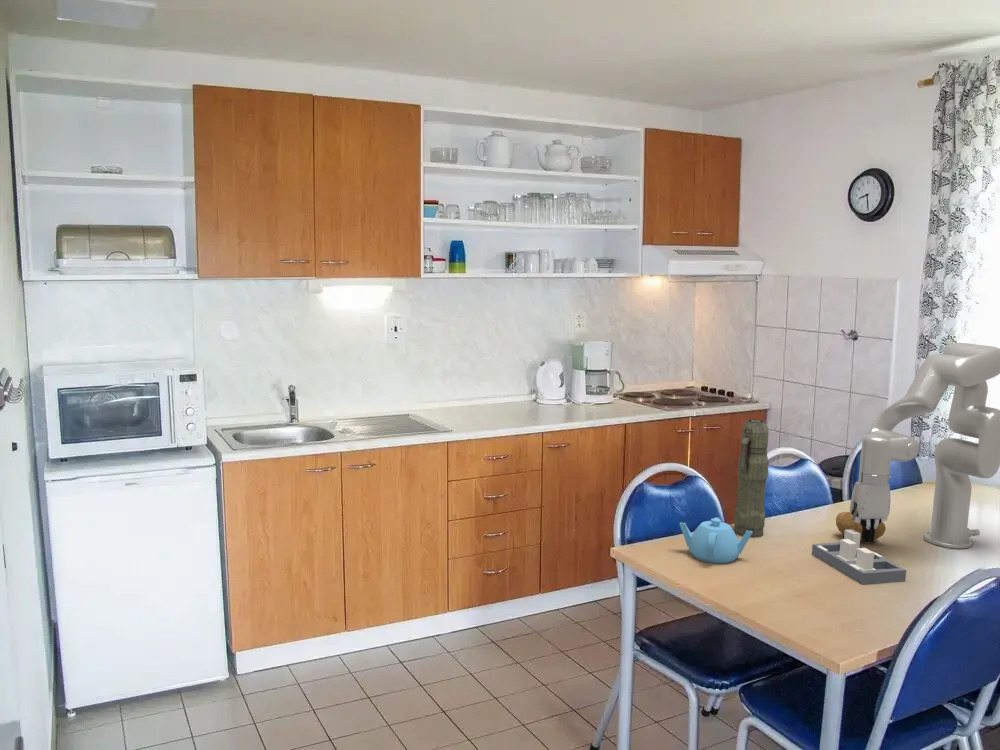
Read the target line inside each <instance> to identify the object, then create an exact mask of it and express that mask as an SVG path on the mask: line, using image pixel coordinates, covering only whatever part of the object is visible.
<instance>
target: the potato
mask: <svg viewBox="0 0 1000 750" xmlns="http://www.w3.org/2000/svg"><path fill="white" fill-rule="evenodd" d="M852 517H853V515H852V514H850V511H849V512H848V511H842V512H839V513H838V514H837V515H836V518H835V525H836V527H837V529H838V532H840V533H841V534H842V535H843V536H844V535H845V530H850V529H853V530H855V531H856V532H858V533H860V543H861V542H864V543H865V541H863V540H862V526H861V525H860V523H856V522H854V521H852ZM885 533H886V525H885V523H884V521H883V522H881V523H880V524H879V525H878V528H877V529H875V537H874V541H875V540H877V539H879V538H881V537H882V536H884V534H885Z"/></svg>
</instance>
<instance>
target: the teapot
mask: <svg viewBox="0 0 1000 750" xmlns="http://www.w3.org/2000/svg"><path fill="white" fill-rule="evenodd" d="M679 526H680V527H679V528H680V529H681V532H682V535H683V538H684V541H685V543H686V546H687V547H688V549H689V552H690V553H691V554H692V556H693V557H694V558H696V559H697V560H700V561H702V562H705V563H710V564H711V563H712V564H729V563H732V562H734V561H735V560H736V559H737V558H738V557H739V556H740V554H742V552H743V550H744V548H745V546H746V545H747V543H748V542H749V539H750V538H751V537H750V536H751V534H752V531H746V533H745V534H744V536H741V538H740V539H739V540H738V537H737V534H736V533H735V532H734V529H733V528H732V526H731V525H730V524H729V523H726V522H723V521H722V519H720V517H717V516H716V517H714V518H710V520H706V521H702V522H701V523H699V525H698V526H697V527H696V528H695V530H694V531H693V533H691V531H690V529H689V527H688V526H687V524H686V522H679Z"/></svg>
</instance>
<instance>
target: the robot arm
mask: <svg viewBox="0 0 1000 750" xmlns="http://www.w3.org/2000/svg"><path fill="white" fill-rule="evenodd" d="M999 375H1000V348H999V347H996V346H990V345H983V344H975V343H966V342H954V343H950V344H948V345H946V346H945V348H944V350H943V353H940V354H939V353H934V354H931V355H929V356H928V357H926V358H925V360H924V362H923V363H922V365H921V366H920V368H919V370H918V372H917V373H916V375H915V377H914V378H913V381H912V383H911V385H910V387H909V388H908V390H907V391H906V394H905V395H904V396H903V397H902V398H900V399H898V400H897V401H895V402H893V403H892V404H891V405H889V406H888V407H886V408H885V409H884V410H883V411H881V412H880V413H879V414H878V415H877V417H875V420H874V421H873V423H872V425H871V426H870V429H869V431H868V432H867V433H868V434H865V435H863V437H862V441H861V450H860V451H861V452H860V462H859V471H858V481H855V483H854V487H853V489H852V494H851V498H850V504H849V505H850V506H849V512H850V514H852V515H853V517H852V521H854V522H856V523H860V525H861V526H862V540H863V541H864V543H866V544H870V543H871V544H873V543H875V540H874V537H875V529H877V528H878V525H879V524H880V523H881V522H883V523H884V522H886V521H888V517H889V515H890V512H891V488H890V487H891V486H890V484H889V479H892V475H891V474H890V467H891V466H890V464H891V461H893V462H894V461H895V462H904V463H905V462H910V461H912V460H914V459H915V458H916V457H917V456H919V455H918V454H919V452H920V444H919V442H918V441H917V439H916V438H915V437H913V436H910V435H907V434H905V433H904V434H903V433H900V432H896V431H893V430H894V429H895V428H896V426H898V425H899V424H900V423H902V422H903V421H906V420H908V419H910V418H914V417H919V416H923V415H926V414H930V413H932V412H934V411H935V410H936V409H937V407H938V404H939V403H940V400H941V399H942V397H943V396H944V393H945V392H946V390H947V389H948V387H950V386H951V387H952V386H953V387H954V391H953V397H952V400H951V405H950V410H949V413H948V419H947V426H948V428H949V430H950V431H951V432H953V433H955V434H958V435H962V436H964V437H965V436H966V437H970V438H975V439H978V443H977V442H973V441H970V440H966V439H962V438H961V439H960V438H956V437H948V438H944V439H941V440H940V441H939V442H938V443H937V444H936V446H935V448H934V454H933V455H934V463H935V484H934V485H935V486H934V492H933V505H932V514H931V521H930V522H931V523H930V531H927V532H925V533H924V534H923V535H924V536H923V538H924V540H925V541H927V542H928V543H930V544H932V545H935V546H939V547H943V548H948V549H955V550H957V549H962V550H963V549H968V548H971V547H972V544H973V543H972V540H971V539H970V537H977V536H980V535H981V531H980V529H978V528H976V529H970V527H968V523H969V515H970V507H971V497H972V491H973V490H972V482H971V479H970V476H972V477H975V478H980V479H990V478H992V477H994V476H995V475H996V474H997V473H998V471H999V468H1000V409H998V408H994V407H989V406H987V405H986V403H987V398H988V394H989V387H988V382H987V381H989V380H991V379H993V378H995V377H997V376H999Z"/></svg>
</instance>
